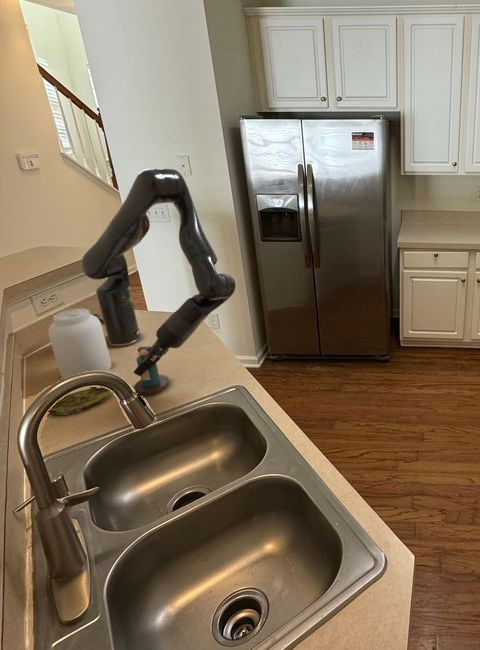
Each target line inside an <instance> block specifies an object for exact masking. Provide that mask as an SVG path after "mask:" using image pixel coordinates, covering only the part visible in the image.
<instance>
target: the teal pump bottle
mask: <svg viewBox="0 0 480 650" xmlns="http://www.w3.org/2000/svg"><path fill="white" fill-rule="evenodd" d="M151 347H152V345H151V346H139V347H138V348H137V353H138V357H137V358H136V363H137V367H138V366H139V365H140V364H141V363H142V361H143V360H144V359H145V358H146V354H147V353H148V352H149V351H150V350H151ZM150 354H151V353H150ZM159 375H160V374H159V369H158V364H157V362H156V363H155V364H154V365H153V366H152V367H151V369H150V370H146V371H145V372H144V373H143V374H142V375H141V376H140V380H142V384H143V386H144V387H152V386H155V385H157V384H158V383H159V382H160V378H159Z"/></svg>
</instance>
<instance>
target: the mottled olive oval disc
mask: <svg viewBox="0 0 480 650" xmlns="http://www.w3.org/2000/svg"><path fill="white" fill-rule="evenodd" d="M113 394H114V391H113V392H111V391H110V390H108V389H105V388H102V386H100V387H91V386H90V387H89V388H85V389H82V390H78V391H76V392H71V393H68V395H67V394H66V395H67V396H65V397H64V398H62V397H61V398H62V399H61V398H60V399H61V400H59V399H58V400H59V401H58V402H57V403H56V404H55V405H54V406H53V407H52V408H51V409H50V410H49V411H48V412H47V413H51V414H53V415H55V416H66V415H67V416H68V415H73V414H77V413H79V412H83V411H85V410H87V409H91V408H92V407H95V406H97V405H100V404H102V403H104V402H105V401H106V400H108V399H109V398H110V397H111V396H112V395H113Z"/></svg>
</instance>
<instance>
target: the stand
mask: <svg viewBox="0 0 480 650" xmlns="http://www.w3.org/2000/svg"><path fill="white" fill-rule="evenodd" d="M159 378H160V382H159V383H158V384H157V385H155V386H152V387H144V386H143V384H142V380H141V379H140V380H138V381H137V382H136V383H135V384H134V387H133V388H134V392H135V394H136V393H138V394H139V395H141V396H140V397H152V396H155V395H158V394H160V393H162V392H164V391H165V390H166V389H168V388H169V386H170V381H169V377H168V376H166V375H164V374H159ZM139 395H138V396H139Z"/></svg>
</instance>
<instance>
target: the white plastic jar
mask: <svg viewBox="0 0 480 650" xmlns="http://www.w3.org/2000/svg"><path fill="white" fill-rule="evenodd" d="M47 335H48V338H49V341H50V345H51V348H52V351H53V354H54V357H55V360H56V364H57V366H58V370H59V373H60V376H61V379H63V378H66V377H69V376H71V375H75V374H78V373H82V372H85V371H92V370H103V371H108V372H109V371H110V370H111V368H112V360H111V357H110V352H109V349H108V345H107V341H106V338H105V334H104V329H103V326H102V321H99V319H98V318H97V317H96V316H94V314H91V311H90V310H89V309H87V308H83V307H81V308H80V307H77V308H69V309H66V310H63V311H60V312H58V313H56V314H55V315H53V319H52V323H51V325H49V326H48V334H47Z"/></svg>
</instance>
